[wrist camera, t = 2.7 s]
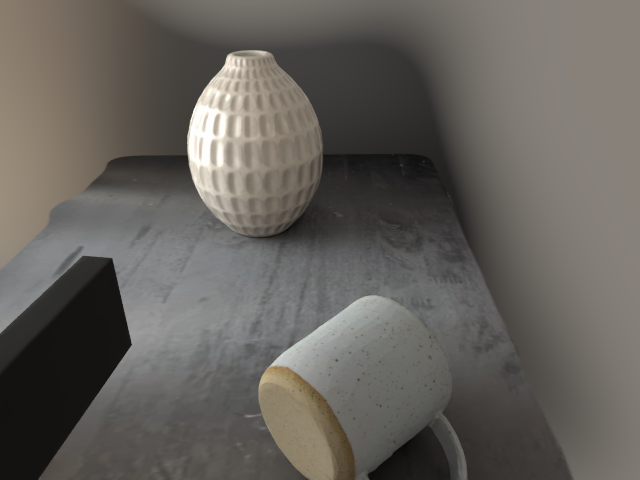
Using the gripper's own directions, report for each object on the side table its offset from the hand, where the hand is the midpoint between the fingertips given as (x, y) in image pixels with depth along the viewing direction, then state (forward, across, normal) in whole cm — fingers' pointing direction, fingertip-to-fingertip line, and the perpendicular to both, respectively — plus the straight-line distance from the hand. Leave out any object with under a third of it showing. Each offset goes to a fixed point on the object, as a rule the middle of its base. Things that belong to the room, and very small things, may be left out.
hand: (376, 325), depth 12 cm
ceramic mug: (+10, 0, -17) cm, 19 cm away
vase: (+36, -12, -17) cm, 41 cm away
